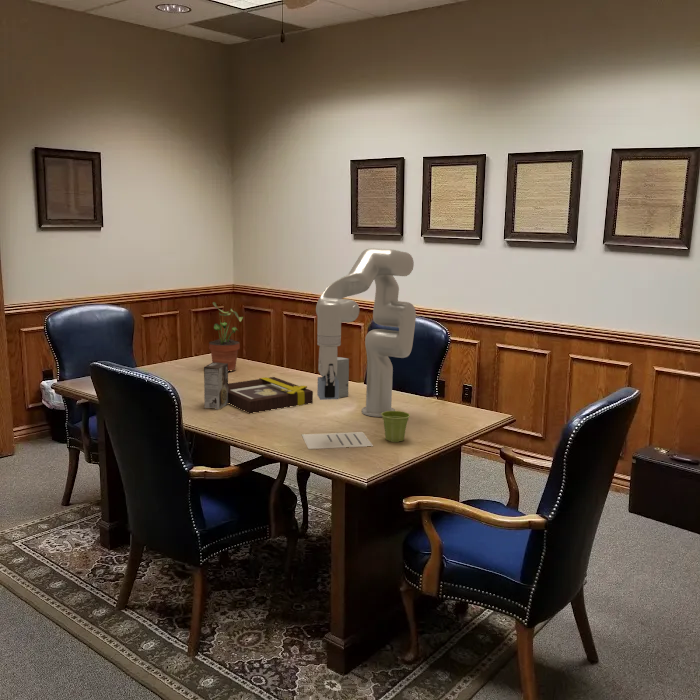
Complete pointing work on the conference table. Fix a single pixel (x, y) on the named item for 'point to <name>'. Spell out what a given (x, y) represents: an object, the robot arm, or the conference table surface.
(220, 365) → the coffee box
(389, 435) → the plant pot
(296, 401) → the brown gift box
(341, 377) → the skincare box
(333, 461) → the conference table surface
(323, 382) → the cube
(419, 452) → the conference table surface
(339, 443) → the letter
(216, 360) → the potted plant
